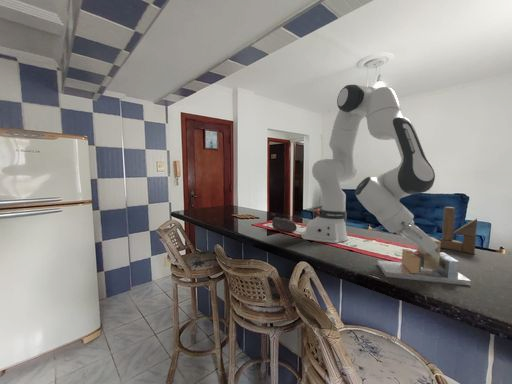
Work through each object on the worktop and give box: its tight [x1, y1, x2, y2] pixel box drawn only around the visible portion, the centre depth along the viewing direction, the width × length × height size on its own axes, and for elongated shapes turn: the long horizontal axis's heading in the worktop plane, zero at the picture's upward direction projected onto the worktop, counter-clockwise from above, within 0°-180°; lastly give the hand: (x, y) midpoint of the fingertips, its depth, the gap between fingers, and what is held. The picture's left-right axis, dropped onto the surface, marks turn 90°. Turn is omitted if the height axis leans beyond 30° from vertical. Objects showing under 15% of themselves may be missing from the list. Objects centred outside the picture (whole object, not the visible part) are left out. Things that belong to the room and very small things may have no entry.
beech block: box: [416, 236, 441, 270], centre depth 72 cm, size 4×5×9 cm
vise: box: [377, 251, 472, 286], centre depth 73 cm, size 22×10×6 cm, turn 76°
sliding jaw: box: [401, 248, 422, 273], centre depth 73 cm, size 3×8×5 cm, turn 166°
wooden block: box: [440, 206, 478, 255], centre depth 96 cm, size 4×11×18 cm, turn 44°
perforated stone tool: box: [271, 216, 298, 233], centre depth 128 cm, size 15×5×7 cm, turn 50°
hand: (430, 251), depth 72 cm, fingers closed on beech block, 5 cm apart
